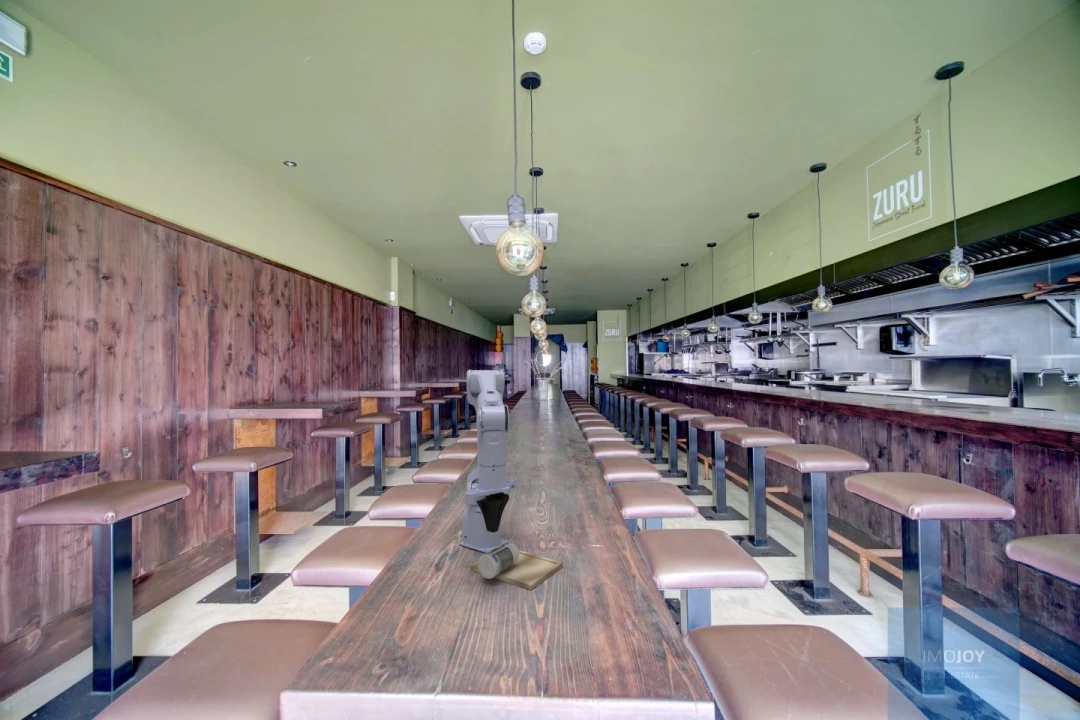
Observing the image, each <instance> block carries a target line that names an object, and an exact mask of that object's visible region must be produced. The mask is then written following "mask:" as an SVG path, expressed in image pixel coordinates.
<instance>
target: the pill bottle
mask: <svg viewBox="0 0 1080 720" xmlns="http://www.w3.org/2000/svg"><path fill="white" fill-rule="evenodd" d="M518 550H519V548H518V547H517V545H516V544H514V543H511V542H508V543H507V544H505V545H501V546H499V547H497V548H495V549H493V550H491V551H489V552H487V553H484V554H482V555H481V556H480V557H479V559H478V561H479V563H478V566H479V570H480V572H481V573H480V574H481V575H482V576H483V578H485V579H487V580H491V579H493V577H495V576H497V575H498V574H500V573H502V572H503V571H505V570H507V569H508V568H510V567H511V566H512V565H513V563H515V562H516V561H517V560H518V558H519V551H518Z"/></svg>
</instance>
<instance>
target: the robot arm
mask: <svg viewBox="0 0 1080 720" xmlns="http://www.w3.org/2000/svg"><path fill="white" fill-rule="evenodd" d="M505 385H506V384H505V372H504V371H503V369H499V370H496V369H495V370H491V369H487V370H486V369H483V370H481V369H480V370H477V369H476V370H475V369H474V370H473V369H468V370H467V371H466V399H467V403H468V404H470V405H471V406H473V407H474V409H475V414H476V433H477V434H476V436H477V437H476V440H477V443H476V444H477V445H476V446H477V449H476V451H477V468H475V469H474V470H473V471H472V472H471V473H469V474H468V475H467V478H466V492H464V493H463V495H464V497H463V499H464V500H463V501H464V502H463V503H464V504H466V508H465V510H464V511H463V514H462V518H461V542H459V545H460V546H463V547H466V548H469V549H472V550H475V551H479V552H482V553H484V554H486V553H487V552H489V551H491V550H493V549H495V548H497V547H499V546H501V545H506V544H508V543H509V540H508V539H504V538H502V517H503V513H504V511H505V508H506V506H507V504H508V502H509V500H510V494H508V492H509V491H511V489H513V490H515V489H518V478H513V477H509V478H507V433H509V428H510V411H509V406H508V405H507V404H504V402H503V398H504V391H505Z"/></svg>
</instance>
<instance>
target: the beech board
mask: <svg viewBox="0 0 1080 720" xmlns="http://www.w3.org/2000/svg"><path fill="white" fill-rule="evenodd" d="M518 551H519V558H518V560H517V561H516V562H515V563H513V565H512V566H511V567H510V568H508V569H507V570H505V571H503V572H502V573H500V574H498V575H497V576H495V577H493V578H494V579H496V580H499V581H502V582H505V583H508V584H511V585H514V586H517V587H519V588H522V589H525V590H528V591H533V590H534V589H535V588H536V587H538V586H540V585H541V584H542V583H543V582H545V581H546V580H547V579H549V578H550V577H551V576H553V575H554V574H556V573H557V572H558V571H559V570H561V569H562V568H564V566H563V565H564V564H563V563H564V562H562V561H560V560H556V559H552V558H548V557H545V556H541V555H538V554H534V553H531V552H527V551H524V550H520V549H518ZM478 563H479V560H477V561H475V562H473V563H471V564H470V569H469V570H471V571H473V572H475V573H476V572H477V573H479V574H481V572H480V570H479V566H478ZM493 578H492V579H493Z"/></svg>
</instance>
